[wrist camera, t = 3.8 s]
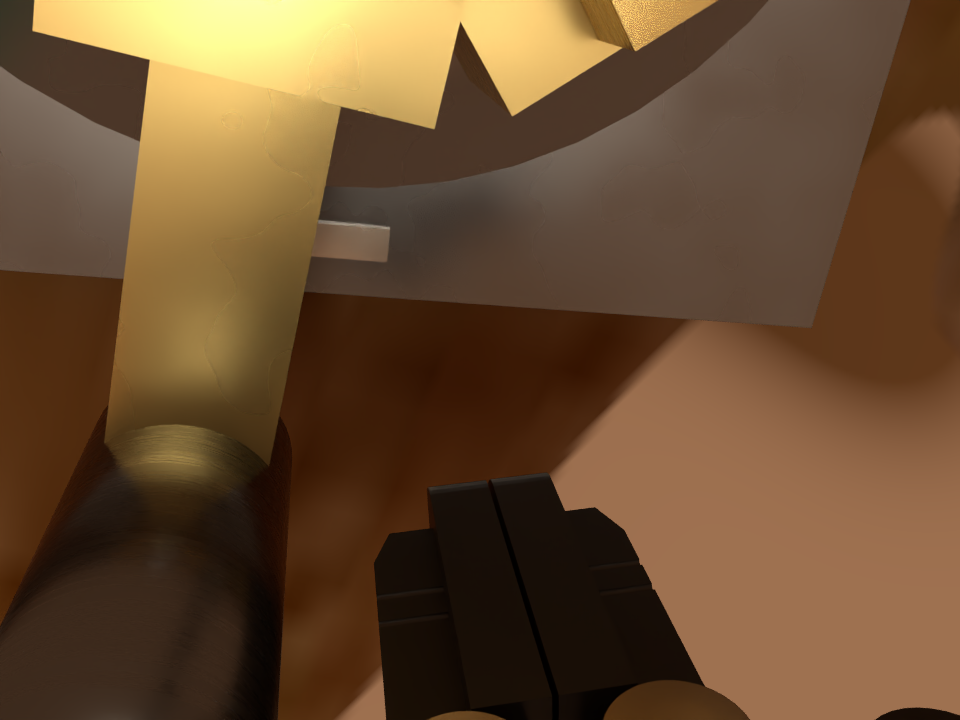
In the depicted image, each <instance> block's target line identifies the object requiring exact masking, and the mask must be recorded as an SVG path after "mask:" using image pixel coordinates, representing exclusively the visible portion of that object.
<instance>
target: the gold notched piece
mask: <svg viewBox="0 0 960 720" xmlns="http://www.w3.org/2000/svg"><path fill="white" fill-rule="evenodd" d="M716 1H718V0H35V2H34V16H33V29H32V31H35V32H39V33H43V34H47V35H51V36H55V37H60V38H64V39H68V40H72V41H76V42H80V43H84V44H88V45H92V46H96V47H100V48H104V49H109V50H113V51H117V52H121V53H125V54H129V55H133V56H137V57H141V58H145V59H149V60H150V63H149V72H148V80H147V88H146V97H145V105H144V113H143V122H142V130H141V138H140V147H139V155H138V164H137V172H136V180H135V189H134V197H133V205H132V214H131V222H130V230H129V239H128V247H127V256H126V264H125V272H124V281H123V289H122V297H121V306H120V314H119V322H118V331H117V339H116V348H115V356H114V364H113V373H112V381H111V389H110V398H109V405H108V406H107V407H106V409H105V410H104V411H103V413H102V415H101V416H100V418H99V420H98V422H97V424H96V426H95V428H94V430H93V432H92V434H91V437H90V439H89V441H88V443H87V445H86V447H85V449H84V451H83V453H82V455H81V458H80V460H79V462H78V464H77V466H76V468H75V470H74V472H73V474H72V477H71V479H70V481H69V483H68V485H67V487H66V489H65V491H64V493H63V495H62V498H61V500H60V502H59V504H58V506H57V508H56V510H55V512H54V514H53V516H52V519H51V521H50V523H49V525H48V527H47V529H46V531H45V533H44V535H43V537H42V540H41V542H40V544H39V546H38V548H37V550H36V552H35V554H34V556H33V558H32V561H31V563H30V565H29V567H28V569H27V571H26V573H25V575H24V577H23V579H22V582H21V584H20V586H19V588H18V590H17V592H16V594H15V596H14V598H13V601H12V603H11V605H10V607H9V609H8V611H7V613H6V615H5V617H4V619H3V622H2V624H1V626H0V720H278V702H279V684H280V665H281V647H282V629H283V611H284V593H285V575H286V557H287V539H288V521H289V503H290V485H291V467H292V449H291V443H290V438H289V435H288V432H287V429H286V427H285V425H284V423H283V421H282V419H281V417H280V416H279V414H280V409H281V404H282V399H283V394H284V389H285V384H286V379H287V374H288V369H289V364H290V359H291V354H292V349H293V344H294V339H295V334H296V329H297V324H298V319H299V314H300V309H301V304H302V299H303V294H304V289H305V284H306V279H307V274H308V269H309V264H310V259H311V254H312V249H313V244H314V239H315V234H316V229H317V224H318V219H319V214H320V209H321V204H322V199H323V194H324V189H325V184H326V179H327V174H328V169H329V164H330V159H331V154H332V149H333V144H334V139H335V134H336V129H337V124H338V119H339V114H340V109H341V106H342V107H346V108H350V109H354V110H358V111H362V112H366V113H370V114H374V115H378V116H382V117H387V118H391V119H395V120H399V121H403V122H407V123H411V124H415V125H419V126H423V127H427V128H431V129H435V125H436V120H437V116H438V112H439V108H440V104H441V100H442V95H443V91H444V87H445V83H446V79H447V75H448V70H449V66H450V62H451V58H452V54H453V52H454V54H455V55H456V57H457V59H458V61H459V63H460V64H461V66H462V68H463V70H464V72H465V73H466V75H467V77H468V79H469V80H470V81H471V82H472V83H473V84H474V85H476V86H477V87H478V88H479V89H480V90H481V91H483V92H484V93H485V94H486V95H487V96H489V97H490V98H491V99H492V100H493V101H495V102H496V103H497V104H498V105H499V106H500V107H502V108H503V109H504V110H505V111H506V112H508V113H509V114H510V115H511V116H514V115H516V114H517V113H519V112H520V111H522V110H524V109H525V108H527V107H528V106H530V105H532V104H533V103H535V102H536V101H538V100H540V99H541V98H543V97H544V96H546V95H548V94H549V93H551V92H552V91H554V90H556V89H557V88H559V87H561V86H562V85H564V84H565V83H567V82H569V81H570V80H572V79H573V78H575V77H577V76H578V75H580V74H581V73H583V72H585V71H586V70H588V69H589V68H591V67H593V66H594V65H596V64H597V63H599V62H601V61H602V60H604V59H605V58H607V57H609V56H610V55H612V54H614V53H615V52H617V51H618V50H620V49H622V48H625V49H628V50H631V51H635V52H636V51H637V50H639V49H640V48H642V47H644V46H645V45H647V44H648V43H650V42H652V41H653V40H655V39H657V38H658V37H660V36H661V35H663V34H665V33H666V32H668V31H669V30H671V29H673V28H674V27H676V26H677V25H679V24H681V23H682V22H684V21H685V20H687V19H689V18H690V17H692V16H694V15H695V14H697V13H698V12H700V11H702V10H703V9H705V8H706V7H708V6H710V5H711V4H713V3H714V2H716Z"/></svg>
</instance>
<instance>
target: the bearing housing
mask: <svg viewBox="0 0 960 720" xmlns="http://www.w3.org/2000/svg"><path fill="white" fill-rule="evenodd" d="M34 2H35V0H0V270H7V271H21V272H35V273H49V274H63V275H77V276H91V277H105V278H119V279H124V272H125V264H126V256H127V247H128V239H129V230H130V222H131V214H132V205H133V197H134V189H135V180H136V172H137V164H138V155H139V147H140V138H141V130H142V122H143V113H144V105H145V97H146V88H147V80H148V72H149V63H150V60H149V59H145V58H141V57H137V56H133V55H129V54H125V53H121V52H117V51H113V50H109V49H104V48H100V47H96V46H92V45H88V44H84V43H80V42H76V41H72V40H68V39H64V38H60V37H55V36H51V35H47V34H43V33H39V32H35V31H32V29H33V16H34ZM909 4H910V0H718V1H716V2H714V3H713V4H711V5H710V6H708V7H706V8H705V9H703V10H702V11H700V12H698V13H697V14H695V15H694V16H692V17H690V18H689V19H687V20H685V21H684V22H682V23H681V24H679V25H677V26H676V27H674V28H673V29H671V30H669V31H668V32H666V33H665V34H663V35H661V36H660V37H658V38H657V39H655V40H653V41H652V42H650V43H648V44H647V45H645V46H644V47H642V48H640V49H639V50H637V51H636V52H635V51H631V50H628V49H625V48H622V49H620V50H618V51H617V52H615V53H614V54H612V55H610V56H609V57H607V58H605V59H604V60H602V61H601V62H599V63H597V64H596V65H594V66H593V67H591V68H589V69H588V70H586V71H585V72H583V73H581V74H580V75H578V76H577V77H575V78H573V79H572V80H570V81H569V82H567V83H565V84H564V85H562V86H561V87H559V88H557V89H556V90H554V91H552V92H551V93H549V94H548V95H546V96H544V97H543V98H541V99H540V100H538V101H536V102H535V103H533V104H532V105H530V106H528V107H527V108H525V109H524V110H522V111H520V112H519V113H517V114H516V115H514V116H511V115H510V114H509V113H508V112H506V111H505V110H504V109H503V108H502V107H500V106H499V105H498V104H497V103H496V102H495V101H493V100H492V99H491V98H490V97H489V96H487V95H486V94H485V93H484V92H483V91H481V90H480V89H479V88H478V87H477V86H476V85H474V84H473V83H472V82H471V81H470V80H469V79H468V77H467V75H466V73H465V72H464V70H463V68H462V66H461V64H460V63H459V61H458V59H457V57H456V55H455V54H454V52H453V54H452V58H451V62H450V66H449V70H448V75H447V79H446V83H445V87H444V91H443V95H442V100H441V104H440V108H439V112H438V116H437V120H436V125H435V129H431V128H427V127H423V126H419V125H415V124H411V123H407V122H403V121H399V120H395V119H391V118H387V117H382V116H378V115H374V114H370V113H366V112H362V111H358V110H354V109H350V108H346V107H342V106H341V109H340V114H339V119H338V124H337V129H336V134H335V139H334V144H333V149H332V154H331V159H330V164H329V169H328V174H327V179H326V184H325V189H324V194H323V199H322V204H321V209H320V214H319V219H318V224H317V229H316V234H315V239H314V244H313V249H312V254H311V259H310V264H309V269H308V274H307V279H306V284H305V289H304V292H315V293H329V294H343V295H357V296H371V297H385V298H399V299H413V300H427V301H441V302H455V303H469V304H483V305H497V306H511V307H525V308H539V309H553V310H567V311H581V312H595V313H609V314H623V315H637V316H651V317H666V318H680V319H694V320H708V321H722V322H737V323H750V324H764V325H778V326H792V327H806V328H811V327H812V324H813V321H814V317H815V314H816V311H817V308H818V305H819V301H820V298H821V295H822V291H823V288H824V285H825V281H826V278H827V275H828V271H829V268H830V265H831V261H832V258H833V255H834V251H835V248H836V245H837V242H838V238H839V235H840V231H841V228H842V225H843V222H844V219H845V215H846V212H847V208H848V205H849V202H850V199H851V195H852V192H853V189H854V185H855V182H856V179H857V176H858V172H859V169H860V166H861V162H862V159H863V156H864V152H865V149H866V146H867V142H868V139H869V136H870V133H871V129H872V126H873V123H874V119H875V116H876V113H877V109H878V106H879V103H880V99H881V96H882V93H883V90H884V86H885V83H886V80H887V76H888V73H889V70H890V66H891V63H892V60H893V56H894V53H895V50H896V47H897V43H898V40H899V37H900V33H901V30H902V27H903V23H904V20H905V17H906V13H907V10H908V7H909Z"/></svg>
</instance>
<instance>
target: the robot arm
mask: <svg viewBox="0 0 960 720" xmlns="http://www.w3.org/2000/svg"><path fill="white" fill-rule="evenodd" d="M427 495H428V510H429V523H430V529H423V530H415V531H407V532H399V533H391V534H389V536H388V538H387V539H386V541H385V543H384V545H383V547H382V549H381V551H380V553H379V555H378V557H377V558H376V560H375V562H374V569H375V581H376V594H377V607H378V620H379V632H380V645H381V658H382V671H383V683H384V695H385V709H386V720H750V719H749V718H748V717H747V715H746V714H745V713H744V712H743V711H742V710H741V709H740V708H739V707H738V706H737V705H736V704H735V703H733V702H732V701H730V700H729V699H728V698H726V697H725V696H723V695H722V694H720V693H718V692H716V691H714V690H712V689H709V688H707V687H705V685H704V684H703V682H702V681H701V679H700V676H699V675H698V672H697V671H696V669H695V667H694V665H693V663H692V661H691V659H690V657H689V655H688V653H687V651H686V649H685V647H684V645H683V643H682V641H681V639H680V638H679V636H678V634H677V632H676V630H675V628H674V626H673V624H672V622H671V620H670V618H669V616H668V614H667V612H666V610H665V609H664V606H663V605H662V603H661V601H660V599H659V597H658V595H657V593H656V591H655V590H653V589H652V583H651V581H650V579H649V577H648V575H647V573H646V571H645V570H644V567H643V566H642V565H640V563H639V558H638V556H637V554H636V552H635V550H634V548H633V546H632V544H631V542H630V540H629V538H628V537H627V534H626V533H625V531H624V530H623V529H622V528H621V527H620V526H618V525H617V524H616V523H614V522H613V521H612V520H611V519H609V518H608V517H607V516H605V515H604V514H603V513H601V512H600V511H599V510H598V509H596V508H595V507H594V508H586V509H578V510H570V511H565V510H564V508H563V505H562V503H561V501H560V498H559V496H558V494H557V492H556V489H555V487H554V484H553V482H552V480H551V478H550V476H549V474H548V473H539V474H531V475H523V476H514V477H506V478H498V479H490V480H489V482H488V484H487V482H486V480H483V481H475V482H467V483H459V484H450V485H442V486H434V487H428V488H427ZM876 720H960V715H957V714H953V713H950V712H947V711H942V710H936V709H930V708H904V709H899V710H894V711H891V712H888V713H886V714H884V715H881V716H880V717H879V718H877V719H876Z"/></svg>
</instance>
